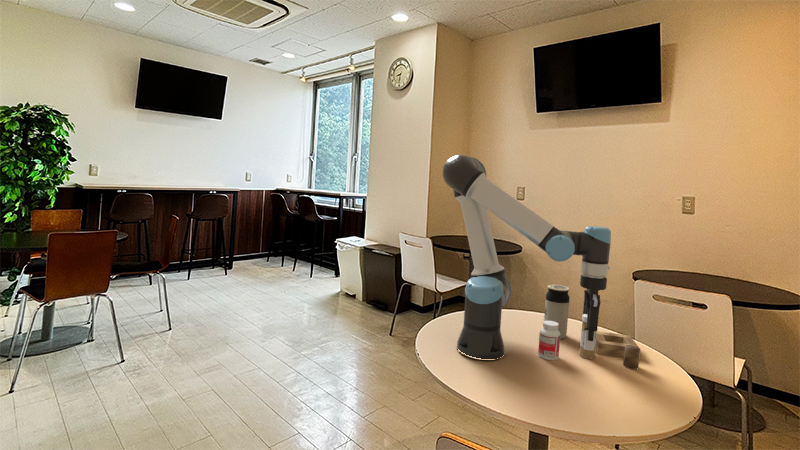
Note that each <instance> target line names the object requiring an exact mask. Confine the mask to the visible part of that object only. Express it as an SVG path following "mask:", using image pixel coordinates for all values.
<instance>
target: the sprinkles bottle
mask: <svg viewBox="0 0 800 450" xmlns="http://www.w3.org/2000/svg"><path fill="white" fill-rule="evenodd" d="M581 321H582V324H581V330H580V331H581V332H580V344H579V345H580V346H579V352H578V354H579V356H581V357H582V358H584V359H594V358H595V357H596V356H595V351H596V348H595V344H596V331H595V342H594V351H591V350H584V343H585V331H586V330H584V328H587V314H583V313H582V317H581Z"/></svg>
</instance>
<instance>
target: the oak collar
mask: <svg viewBox="0 0 800 450" xmlns="http://www.w3.org/2000/svg"><path fill="white" fill-rule="evenodd" d="M625 345H633V346H637V347H639V346H638V344H637V343H636V341H635V340H634V339H633V337H632V336H631V335H628V334H620V333H615V332H614V333H612V332H605V331H598V330H597V331H596V344H595V351H596V352H597V354H601V355H608V356H615V357H623V358H624V352H625Z"/></svg>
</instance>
